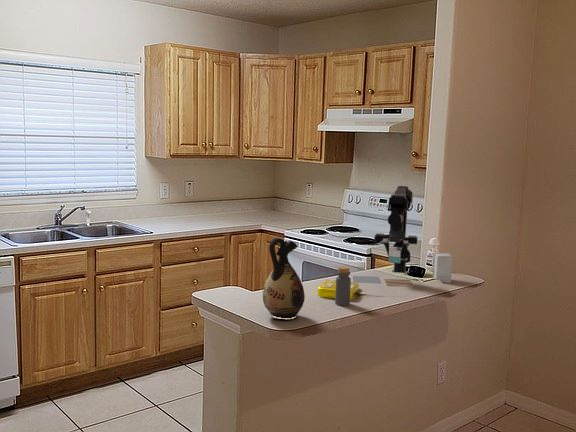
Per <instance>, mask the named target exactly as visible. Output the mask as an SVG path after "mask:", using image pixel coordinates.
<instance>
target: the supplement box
mask: <svg viewBox="0 0 576 432" xmlns="http://www.w3.org/2000/svg"><path fill="white" fill-rule="evenodd" d="M453 258H454V257H453V255H451V254H450V253H449V252H448V253H446V252H445V253H443V252H440V253H439V252H435V253H433V260H432V261H433V263H432V277H433V278H434V279H435V280H439V281H440V282H441V283H447V284H448V283H451V282H452V274H453Z"/></svg>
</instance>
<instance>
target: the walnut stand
mask: <svg viewBox="0 0 576 432" xmlns="http://www.w3.org/2000/svg"><path fill="white" fill-rule="evenodd" d="M383 280H384V282H385V285H386V286H387V287H406V288H408V287H409V288H410V287H411V288H415V285H414V284H413V282H412V280H410V279H397V278H396V279H394V278H393V279H391V278H384V279H383Z"/></svg>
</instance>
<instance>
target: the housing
mask: <svg viewBox="0 0 576 432" xmlns="http://www.w3.org/2000/svg"><path fill="white" fill-rule="evenodd" d="M401 250H402V247H393V246H389V257H388V262H387V263H393V264H394V263H400V261H401Z"/></svg>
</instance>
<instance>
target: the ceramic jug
mask: <svg viewBox="0 0 576 432" xmlns="http://www.w3.org/2000/svg"><path fill="white" fill-rule="evenodd" d="M278 244H279V247H278V249H277V252H276V245H278ZM268 247H269V248H268V249H269V254H270V258H271V263H272V264H273V267H272V268H273V269H272V270H271V272H270V274H269V275H268V277H267V279H266V281H265V283H264V286H263V291H262V302H263V305H264V308H265V309H267V311H268V312H269V314H270V315H273V316H276V317H281V318H292V317H295V316H296V317H297V315H298V314H299V312H300V311H301V310H302V309H303V308H302V307H304V306H303V305H304V303H305V296H306V295H305V290H304V286H303V283H302V280H301V278H300V276H299V275H298V274H297V272H296V270H295V269H294V267H293V266H292V264H291V263H290V262H289V257H288V255H289V254H290V253H291V252H293V251H294V250H295V249H297V248H298V245H297V244H296V242H294V241H293V240H289V241H288V240H284V239H283V238H281V237H274V238H272V239H271V240H270V242H269V246H268ZM277 256H278V257H277Z"/></svg>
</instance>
